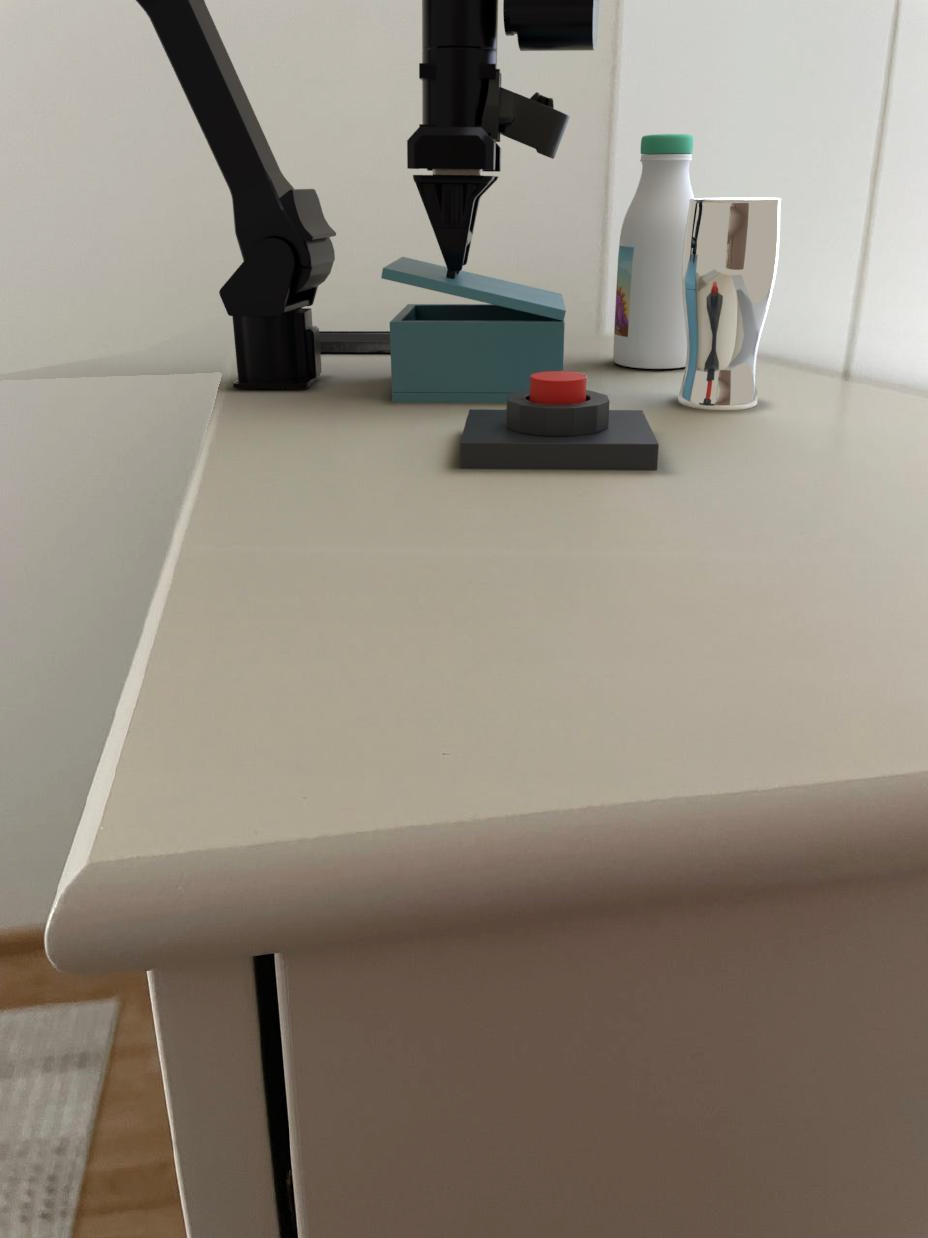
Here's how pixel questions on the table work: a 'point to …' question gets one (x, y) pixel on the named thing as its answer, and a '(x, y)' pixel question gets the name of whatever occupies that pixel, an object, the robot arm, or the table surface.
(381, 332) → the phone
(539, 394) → the power button
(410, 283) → the lid
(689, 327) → the beer glass
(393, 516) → the table surface
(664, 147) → the milk bottle
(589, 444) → the control box
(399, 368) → the teal rectangular box
